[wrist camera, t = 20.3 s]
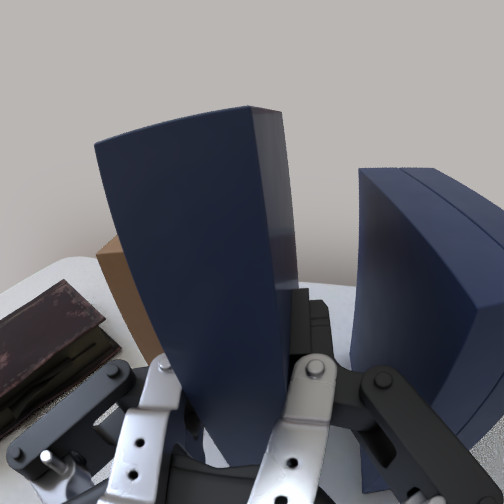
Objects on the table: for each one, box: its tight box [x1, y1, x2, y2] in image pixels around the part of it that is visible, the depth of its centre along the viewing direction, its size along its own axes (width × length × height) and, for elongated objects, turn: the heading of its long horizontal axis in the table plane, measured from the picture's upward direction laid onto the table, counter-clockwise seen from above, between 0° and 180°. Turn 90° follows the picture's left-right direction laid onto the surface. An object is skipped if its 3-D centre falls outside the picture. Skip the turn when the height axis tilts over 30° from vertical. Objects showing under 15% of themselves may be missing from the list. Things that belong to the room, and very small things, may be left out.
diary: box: [0, 279, 122, 438], centre depth 24 cm, size 19×25×5 cm
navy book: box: [94, 106, 299, 467], centre depth 14 cm, size 3×14×17 cm, turn 172°
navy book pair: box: [350, 168, 504, 494], centre depth 14 cm, size 6×14×17 cm, turn 172°
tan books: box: [96, 235, 164, 366], centre depth 20 cm, size 7×7×16 cm
